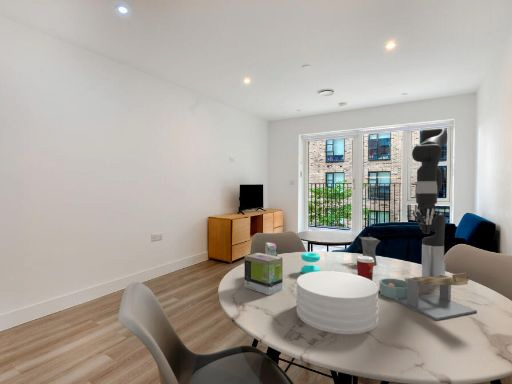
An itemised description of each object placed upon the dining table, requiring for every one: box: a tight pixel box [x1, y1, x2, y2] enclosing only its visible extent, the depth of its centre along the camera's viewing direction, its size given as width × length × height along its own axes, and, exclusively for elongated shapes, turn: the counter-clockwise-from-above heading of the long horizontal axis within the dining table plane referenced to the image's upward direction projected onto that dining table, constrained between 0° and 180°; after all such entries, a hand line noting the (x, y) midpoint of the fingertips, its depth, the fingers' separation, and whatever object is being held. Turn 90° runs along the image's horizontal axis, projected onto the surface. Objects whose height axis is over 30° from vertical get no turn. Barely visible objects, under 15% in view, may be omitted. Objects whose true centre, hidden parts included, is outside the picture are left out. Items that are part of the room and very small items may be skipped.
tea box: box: [243, 252, 284, 296], centre depth 125 cm, size 15×10×15 cm
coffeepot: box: [354, 233, 381, 267], centre depth 167 cm, size 15×9×18 cm, turn 44°
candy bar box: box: [264, 241, 278, 256], centre depth 143 cm, size 11×5×16 cm, turn 5°
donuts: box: [300, 252, 321, 274], centre depth 148 cm, size 10×10×10 cm
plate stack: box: [296, 270, 379, 335], centre depth 100 cm, size 28×28×12 cm
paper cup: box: [355, 255, 374, 281], centre depth 125 cm, size 8×8×14 cm
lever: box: [403, 272, 470, 286], centre depth 108 cm, size 30×16×4 cm, turn 18°
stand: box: [396, 274, 478, 322], centre depth 106 cm, size 17×20×10 cm
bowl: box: [378, 277, 408, 300], centre depth 119 cm, size 12×12×5 cm
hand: (426, 233), depth 116 cm, fingers closed
